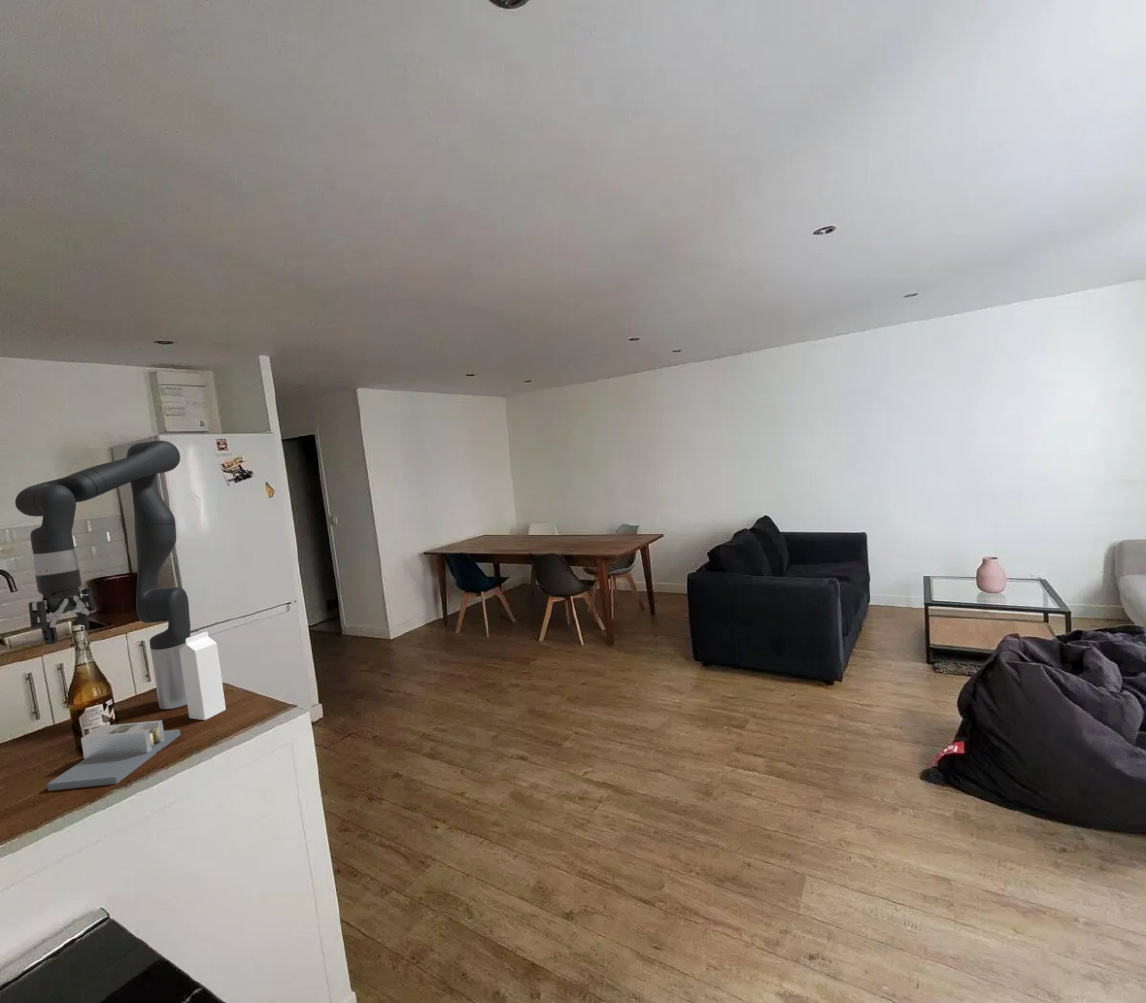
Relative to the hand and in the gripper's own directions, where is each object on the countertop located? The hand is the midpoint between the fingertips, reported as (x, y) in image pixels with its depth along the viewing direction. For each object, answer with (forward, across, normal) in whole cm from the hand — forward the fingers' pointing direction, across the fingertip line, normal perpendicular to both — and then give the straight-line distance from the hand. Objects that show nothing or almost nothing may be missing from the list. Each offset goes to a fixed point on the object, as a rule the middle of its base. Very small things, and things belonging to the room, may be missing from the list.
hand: (68, 637), depth 127 cm
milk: (+28, +14, -20) cm, 37 cm away
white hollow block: (+27, -5, -13) cm, 30 cm away
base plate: (+28, -7, -13) cm, 32 cm away
